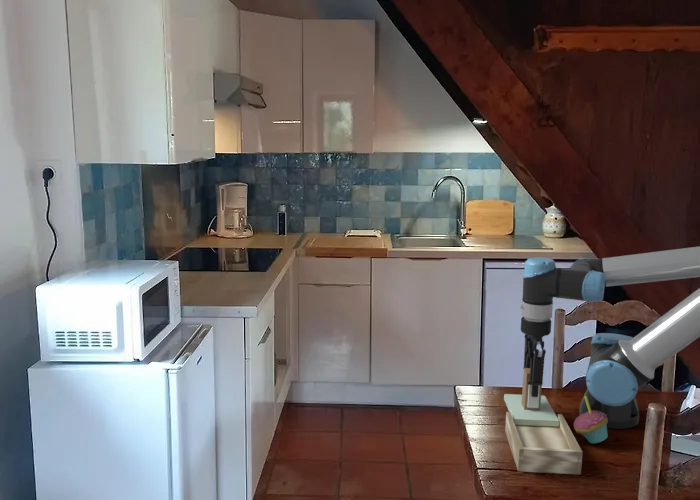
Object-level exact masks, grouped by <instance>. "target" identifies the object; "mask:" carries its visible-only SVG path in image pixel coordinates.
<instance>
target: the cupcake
mask: <svg viewBox="0 0 700 500" xmlns="http://www.w3.org/2000/svg"><path fill="white" fill-rule="evenodd" d="M584 395H585V396H584ZM584 395H583V397H585V401H586V404H587V408H588V412H586V413H583V414H581V415H580V414H579V415H578V416H577V417H576V418H575V419H574V421H573V423H572V424H573V428H574V431H575V433H577V434H580V435H582V436H583V437H584V438H585V439H586V440H587V442H588V443H589V444H598V443H602V442H603V441H605V440H606V439H607V438H608V435H609V434H608V428H607V427H606V424H607V423H608V419H607V414H605V413H603V412H601V411H597V410H596V411H595V410H594V411H593V410H591V408H590V405H589V401H588V398H587V396H586V393H584Z"/></svg>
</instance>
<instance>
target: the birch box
mask: <svg viewBox="0 0 700 500" xmlns="http://www.w3.org/2000/svg"><path fill="white" fill-rule="evenodd" d="M557 418H558V420H559V427H557V426H534V425H515V424H514V421H513V418H512V415H511V413H510V412H509V411H506V413H505V428H504V429H505V430H504V433H505V436H506V439H507V441H508V445H509V448H510V450H511V455H512V457H513V460H514V464H515V465H516V469H517V472H523V473H524V472H525V473H546V474H561V475H563V474H564V475H565V474H566V475H582V464H583V453H584V452H583V450H582V448H581V446H580V445H579V443H578V441H577V439H576V436H574V434H573V432H572V430H571V428H570V426H569V425H568V422H567V421H566V419H565V417H564V415H563V414H562V413H558V414H557Z"/></svg>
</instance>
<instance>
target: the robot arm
mask: <svg viewBox="0 0 700 500" xmlns="http://www.w3.org/2000/svg"><path fill="white" fill-rule="evenodd" d="M522 278H523V279H522V298H521V299H522V304H520V305H519V308H520V309H521V315H522V317H521V319H520V332H521V333H523V334H524V354H523V355H524V356H523V357H524V358H523V360H524V361H523V370H524V368H530V382H527V384H528V385H529V388H528V404H527V407H528V408H539V392H540V385H542V386H543V384H544V383H543V382H544V381H543V380H544V368H545V367H544V366H545V358H546V352H547V351H546V349H544V348H545V341H544V340H543V338H544V337H546V336H549V335H550V334H551V332H552V320H551V319H552V318H553V308H554V307H553V306H554V305H553V303H554V300H553V299H554V298H555V299H567V300H573V301H583V302H585V303H586V302H587V303H591V302H593V303H594V302H595V303H596V302H602V300H603V299H604V294H605V287H606V288H607V287H615V286H624V285H635V284H643V283H654V282H655V283H656V282H664V281H672V280H681V279H692V278H700V246H693V247H692V246H691V247H685V248H675V249H668V250H667V249H666V250H660V251H651V252H643V253H637V254H627V255H620V256H611V257H602V258H593V259H591V258H587V257H583V258H579V259H577V260H576V261H574V262H573V263H572V264H571V266H570V267H569V268H561V267H557V265H556V261H555V260H554V259H552V258H547V257H539V256H538V257H531V258H527V260H525V262H524V270H523V276H522ZM698 338H700V287H699V288H697V290H695V291H693V292H692V293H691V294H690V295H689V296H687V297H686V298H684V299H683V300H682V301H680V302H679V303H678V304H676V305H675V306H674V307H673V308H671V309H670V310H668V311H667V312H666V313H664V314H663V315H661V317H659V318H658V319H657V320H655V321H654V322H652V324H650V325H649V326H647V327H646V328H645V329H643V330H642V331H641V332H639V333H638V334H637V335H635V336H634V337H633V336H628V335H625V334H620V333H610V332H609V333H608V332H600V333H595V334H594V335H593V336H592V338H591V342H590V345H591V347H590V349H591V351H590V358H589V361H588V362H589V363H588V366H587V369H586V373H585V381H586V387H587V388H586V390H585V393H586V396H587V398H588V401H589V405H590V408H591V410H593V411H594V410H595V411H596V410H597V411H601V412H603V413H605V414H607V419H608V423H607V424H606V427H607V429H608V428H609V429H617V430H618V429H620V430H621V429H623V430H624V429H625V430H626V429H630V428H634V427H636V426H638V424H639V422H640V411H639V407H638V403H637V399H636V395H637V393H638V391H639V389H641V388H642V387H643V386H645V385H646V384H648V383H649V382H650V381H652V380H653V379H654V378H655V370H656V369H657V368H659V367H660V366H661V365H662V364H664V363H665V362H666V361H668V360H669V359H671V358H672V357H673V356H675V355H676V354H678V353H679V352H681V351H682V350H684V349H685V348H686V347H687V346H689V345H690V344H691V343H693V342H695V340H697V339H698ZM585 393H584V395H583V397H582V399H581V401H580V404H579V411H578V412H579V415H581V414H583V413H586V412H588V408H587V404H586V401H585V397H584V396H585Z"/></svg>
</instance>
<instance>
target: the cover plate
mask: <svg viewBox="0 0 700 500" xmlns="http://www.w3.org/2000/svg"><path fill="white" fill-rule="evenodd" d="M527 382H530V368H524V369H523V374H522V389H521V390H522V391H521V394H514V393H513V394H511V393H510V394H509V393H504V394H503V395H504V396H503V400H504V403H505V405H506V407H507V410H508V412H510V413H511V415H512V418H513V421H514V424H515V425H534V426H557V427H559V420H558V415H557V414H556V413H555V411H554V409H553V408H552V406H551V404H550V402H549V401H548V399H547V397H546V396H545V395H542V391H543V390H542V386H543V384H542V385H540V392H539V408H528V407H527V404H528V388H529V385H528V384H527Z"/></svg>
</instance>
